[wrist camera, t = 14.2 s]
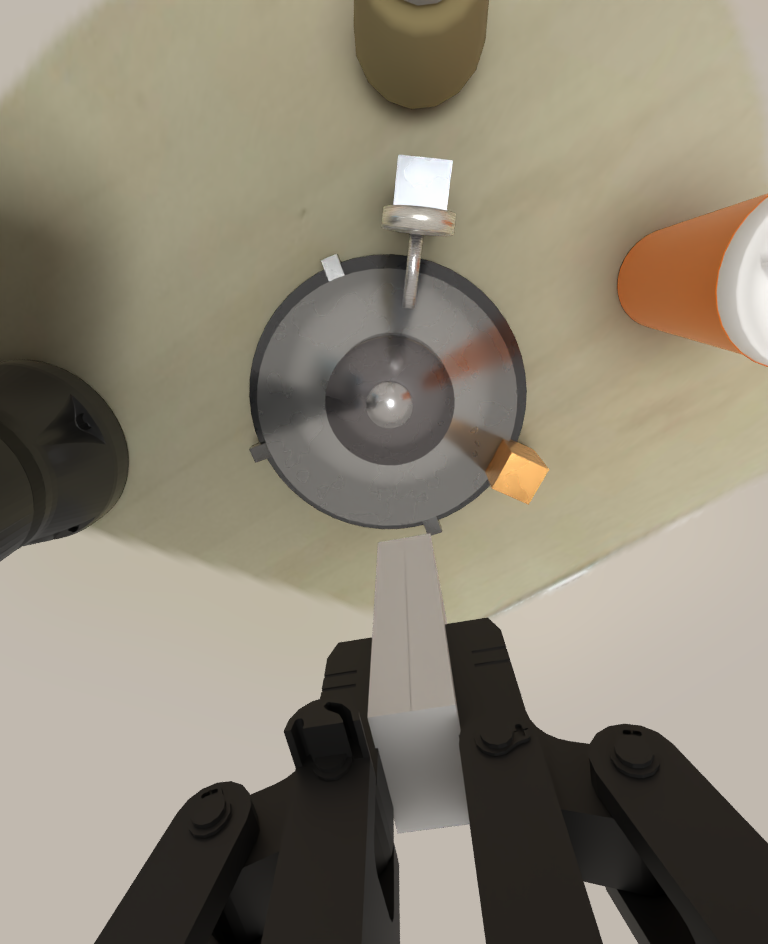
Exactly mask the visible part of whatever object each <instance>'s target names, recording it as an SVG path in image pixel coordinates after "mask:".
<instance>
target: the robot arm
mask: <svg viewBox="0 0 768 944" xmlns="http://www.w3.org/2000/svg"><path fill="white" fill-rule="evenodd" d="M127 473H128V453H127V447H126V442H125V438H124V435H123V433H122V430H121V428H120V425H119V423H118V421H117V419H116V417H115V416H114V414H113V412H112V411H111V410H110V408H109V407H108V405H107V404H106V403H105V401H104V400H103V399H102V398H101V397H100V396H99V395H98V394H97V393H96V392H95V391H94V390H93V389H92V388H91V387H90V386H89V385H87V384H86V383H85V382H83V381H82V380H81V379H79V378H78V377H76V376H74V375H73V374H71V373H69V372H67V371H65V370H63V369H61V368H59V367H56V366H53V365H50V364H47V363H43V362H38V361H32V360H10V361H4V362H0V561H2V560H3V559H4V558H6V557H7V556H9V555H10V554H11V553H12V552H14V551H15V550H17V549H19V548H20V547H22V546H26V545H31V544H35V543H40V542H45V541H49V540H53V539H59V538H63V537H67V536H70V535H73V534H75V533H78V532H80V531H82V530H84V529H86V528H87V527H89V526H90V525H92V524H93V523H94V522H96V521H97V520H98V519H100V518H101V517H102V516H103V515H105V514H106V513H107V512H108V511H109V510H110V509H111V508H112V507H113V506H114V505H115V503H116V502H117V500H118V499H119V497H120V495H121V493H122V491H123V489H124V486H125V483H126V479H127ZM284 733H285V736H286V739H287V743H288V746H289V749H290V752H291V755H292V758H293V761H294V764H295V767H296V770H295V772H293V773H292V774H291V775H290V776H288V777H287V778H286V779H284V780H282V781H280V782H278V783H276V784H275V785H272V786H270V787H267V788H265V789H263V790H261V791H258V792H256V793H254V794H251V795H250V794H249V792H248V791H247V790H246V789H245V787H244V786H243V785H241V784H238V783H235V782H232V781H230V782H220V783H216V784H213V785H211V786H209V787H206V788H204V789H202V790H200V791H199V792H198V793H196V794H195V795H194V796H192V797H191V798H190V799H189V800H188V801H187V802H186V803H185V804H184V806H183V807H182V808H181V809H180V810H179V812H178V813H177V814H176V816H175V817H174V819H173V820H172V822H171V824H170V825H169V827H168V829H167V830H166V831H165V833H164V835H163V836H162V838H161V839H160V841H159V842H158V844H157V846H156V847H155V849H154V850H153V852H152V853H151V855H150V857H149V858H148V860H147V861H146V863H145V864H144V866H143V868H142V869H141V871H140V872H139V874H138V875H137V877H136V879H135V880H134V882H133V883H132V885H131V886H130V888H129V890H128V891H127V893H126V894H125V896H124V897H123V899H122V901H121V902H120V904H119V905H118V907H117V908H116V910H115V912H114V913H113V915H112V916H111V918H110V920H109V921H108V923H107V924H106V926H105V927H104V929H103V930H102V932H101V934H100V935H99V937H98V938H97V940H96V941H95V943H94V944H400V920H399V919H400V914H399V863H398V858H397V853H396V850H395V845H394V840H393V839H394V836H393V835H394V834H393V832H394V829H393V825H394V824H393V820H394V821H395V825H396V829H397V832H398V833H404V832H413V831H421V830H428V829H436V828H444V827H452V826H459V825H467V824H470V829H471V837H472V844H473V851H474V858H475V865H476V873H477V881H478V888H479V895H480V902H481V910H482V917H483V924H484V931H485V938H486V944H603V943H602V939H601V936H600V933H599V930H598V926H597V923H596V920H595V917H594V914H593V911H592V908H591V904H590V901H589V898H588V895H587V892H586V888H585V885H584V882H589V883H593V884H597V885H602V886H605V887H606V890H607V892H608V894H609V895H610V897H611V898H612V900H613V902H614V904H615V905H616V907H617V909H618V910H619V912H620V914H621V915H622V917H623V919H624V920H625V922H626V923H627V925H628V927H629V929H630V930H631V932H632V934H633V935H634V937H635V939H636V940H637V942H638V944H768V843H767V842H766V841H765V840H764V839H763V838H762V837H761V836H760V835H759V834H758V833H757V832H756V831H755V830H754V828H753V827H752V826H751V825H750V824H749V823H748V822H747V821H746V820H745V819H744V818H743V817H742V816H741V815H740V814H739V813H738V812H737V811H736V810H735V809H734V808H733V806H731V805H730V803H729V802H728V801H727V800H726V799H725V798H724V797H723V796H722V795H721V794H720V793H719V792H718V791H717V790H716V789H715V788H714V787H713V786H712V784H711V783H710V782H709V781H708V780H707V779H706V778H705V777H704V776H703V775H702V774H701V773H700V772H699V771H698V770H697V769H696V768H695V767H694V766H693V765H692V764H691V762H690V761H689V760H688V759H687V758H686V757H685V756H684V755H683V754H682V753H681V752H680V751H679V750H678V749H677V748H676V747H675V746H674V745H673V744H672V743H671V742H670V741H669V740H667V739H666V738H664V737H663V736H662V735H661V734H659V733H658V732H656V731H653V730H651V729H648V728H645V727H643V726H638V725H630V724H620V725H614V726H609V727H607V728H605V729H603V730H602V731H600V732H598V733H597V734H596V735H595V737H594V738H593V740H592V741H591V743H590V744H586V743H579V742H571V741H566V740H561V739H557V738H555V737H553V736H550V735H548V734H546V733H544V732H543V731H542V730H540V729H539V728H537V727H536V726H535V725H534V723H533V722H532V721H531V720H530V718H529V716H528V714H527V712H526V710H525V707H524V703H523V700H522V697H521V694H520V690H519V687H518V684H517V681H516V678H515V674H514V671H513V668H512V665H511V662H510V658H509V655H508V652H507V649H506V645H505V642H504V639H503V636H502V632H501V630H500V629H499V628H498V627H497V626H496V625H495V624H494V623H493V622H492V621H491V620H490V619H489V618H482V619H476V620H469V621H463V622H457V623H451V624H447V619H446V613H445V608H444V603H443V598H442V592H441V587H440V582H439V576H438V571H437V566H436V560H435V555H434V550H433V545H432V539H431V534H430V533H429V534H424V535H418V536H412V537H406V538H400V539H395V540H389V541H383V542H378V551H377V567H376V584H375V601H374V617H373V634H372V638H366V639H359V640H353V641H347V642H340V643H338V644H337V646H336V647H335V648H334V650H333V651H332V653H331V654H330V655H329V657H328V658H327V664H326V669H325V678H324V680H323V686H322V693H321V697H320V699H319V700H315V701H312V702H310V703H309V704H307V705H305V706H304V707H302V708H300V709H299V710H298V711H297V712H296V713H295V714H294V715H293V716H292V717H291V718H290V719H289V721H288V723H287V725H286V728H285V730H284ZM583 881H584V882H583Z"/></svg>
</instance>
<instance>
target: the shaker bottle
mask: <svg viewBox="0 0 768 944" xmlns="http://www.w3.org/2000/svg"><path fill="white" fill-rule="evenodd" d="M617 288H618V296H619V299H620V302H621V305H622V307H623V309H624V310H625V312H626V313H627V314H628V315H629V316H630V317H631V318H632V319H633V320H634V321H636V322H637V323H639V324H641V325H644V326H646V327H649V328H653V329H656V330H660V331H663V332H667V333H670V334H674V335H677V336H680V337H684V338H687V339H691V340H694V341H698V342H701V343H705V344H708V345H712V346H715V347H718V348H722V349H725V350H729V351H732V352H736V353H739V354H743V355H744V356H746V357H747V358H749V359H750V360H752V361H753V362H756V363H758V364H761V365H764V366H766V367H768V194H765V195H762V196H759V197H756V198H753V199H750V200H747V201H744V202H741V203H738V204H735V205H732V206H729V207H726V208H723V209H720V210H717V211H714V212H711V213H708V214H705V215H702V216H699V217H696V218H693V219H690V220H687V221H684V222H681V223H678V224H675V225H672V226H669V227H666V228H663V229H660V230H657V231H655V232H653V233H651V234H649V235H647V236H646V237H644V238H643V239H641V240H640V241H639V242H638V243H637V244H636V245H635V246H634V247H633V248H632V249H631V250H630V252H629V253H628V255H627V256H626V257H625V259H624V261H623V264H622V266H621V268H620V272H619V276H618V286H617Z"/></svg>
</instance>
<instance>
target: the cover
mask: <svg viewBox="0 0 768 944" xmlns="http://www.w3.org/2000/svg"><path fill="white" fill-rule="evenodd" d="M454 407H455V397H454V390H453V386H452V382H451V379H450V377H449V374H448V372H447V370H446V368H445V366H444V364H443V362H442V361H441V359H440V358H439V356H438V355H437V354H436V353H435V352H434V351H433V350H432V348H431V347H429V346H428V345H427V344H425V343H424V342H422V341H421V340H419V339H417V338H415V337H412V336H410V335H406V334H402V333H381V334H376V335H373V336H370V337H368V338H366V339H363V340H362V341H360V342H358V343H357V344H356V345H354V346H353V347H352V348H351V349H350V350H349V351H348V352H347V353H346V354H345V355H344V356H343V358H342V359H341V360H340V361H339V362H338V364H337V365H336V366H335V368H334V370H333V372H332V374H331V375H330V378H329V381H328V384H327V388H326V394H325V409H326V414H327V418H328V422H329V425H330V427H331V429H332V431H333V433H334V434H335V436H336V437H337V439H338V440H339V441H340V443H341V444H342V445H343V446H344V447H345V448H346V449H347V450H348V451H350V452H351V453H353V454H354V455H355V456H357V457H359V458H361V459H363V460H365V461H368V462H371V463H375V464H379V465H401V464H406V463H410V462H412V461H415V460H417V459H419V458H421V457H423V456H425V455H426V454H428V453H429V452H430V451H432V450H433V449H434V448H435V447H436V446H437V445H438V444H439V443H440V442H441V440H442V439H443V438H444V436H445V434H446V433H447V431H448V429H449V427H450V424H451V421H452V418H453V414H454Z"/></svg>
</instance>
